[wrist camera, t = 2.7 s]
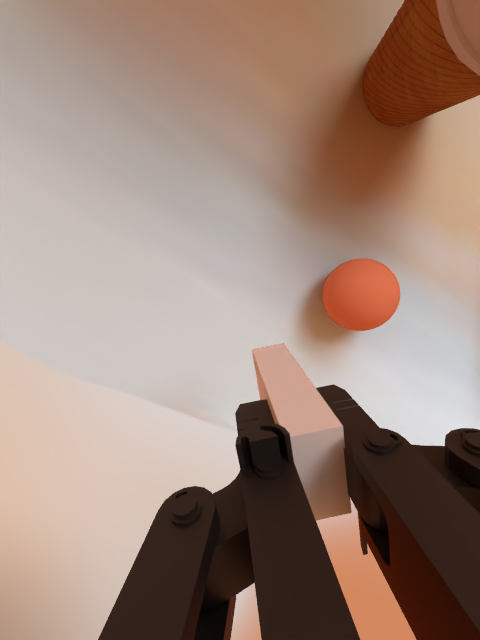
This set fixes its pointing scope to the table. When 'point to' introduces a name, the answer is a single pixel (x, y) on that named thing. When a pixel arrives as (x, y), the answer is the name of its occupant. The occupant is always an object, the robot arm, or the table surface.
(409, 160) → the table surface
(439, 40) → the disposable coffee cup
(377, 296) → the ball
